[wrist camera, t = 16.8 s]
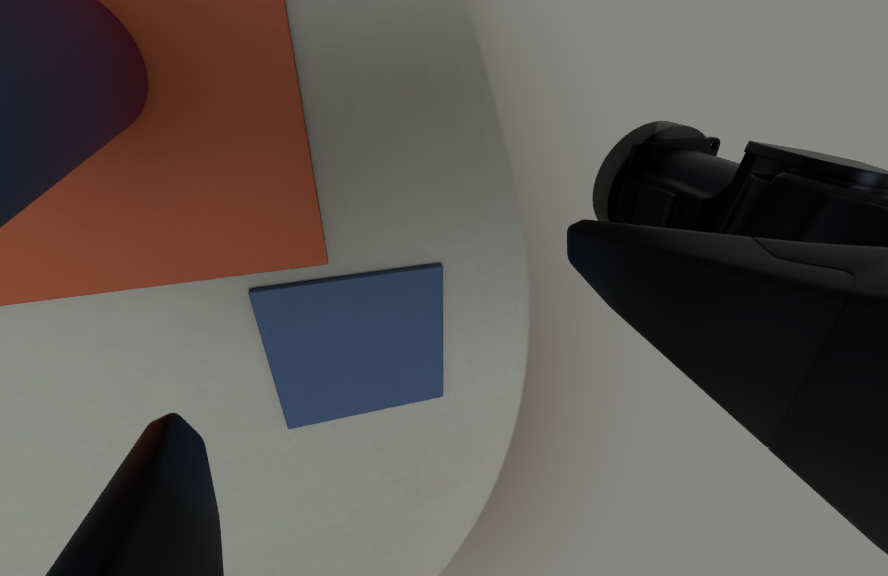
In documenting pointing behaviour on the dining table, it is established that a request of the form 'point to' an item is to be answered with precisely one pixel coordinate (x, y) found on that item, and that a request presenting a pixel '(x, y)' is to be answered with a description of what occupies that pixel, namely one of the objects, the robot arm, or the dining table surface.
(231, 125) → the terracotta mat
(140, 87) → the cup
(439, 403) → the dining table surface
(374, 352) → the blue mat
